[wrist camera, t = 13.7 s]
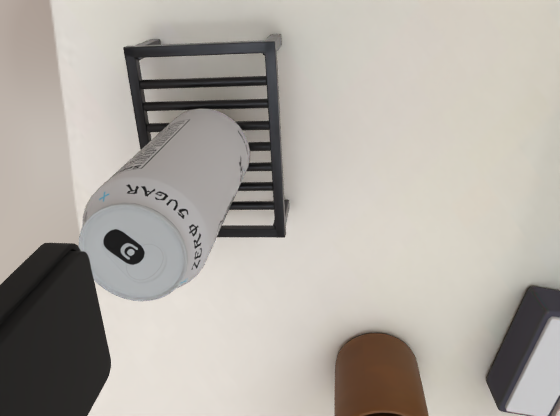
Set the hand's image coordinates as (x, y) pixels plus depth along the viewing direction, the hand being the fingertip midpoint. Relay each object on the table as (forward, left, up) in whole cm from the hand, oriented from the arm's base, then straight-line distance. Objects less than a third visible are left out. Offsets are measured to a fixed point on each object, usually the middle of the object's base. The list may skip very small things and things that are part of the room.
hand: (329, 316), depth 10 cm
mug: (+30, +3, -31) cm, 43 cm away
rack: (+5, -9, -31) cm, 32 cm away
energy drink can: (+5, -9, -26) cm, 28 cm away
